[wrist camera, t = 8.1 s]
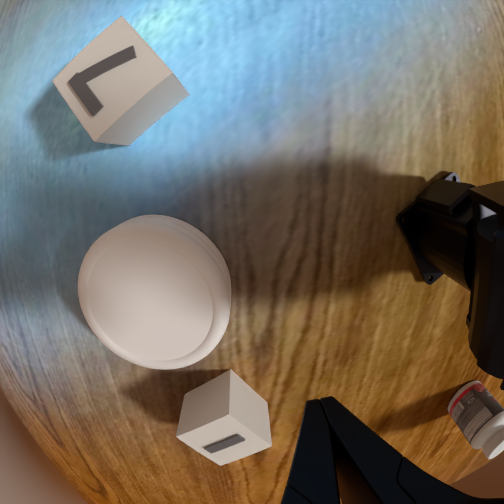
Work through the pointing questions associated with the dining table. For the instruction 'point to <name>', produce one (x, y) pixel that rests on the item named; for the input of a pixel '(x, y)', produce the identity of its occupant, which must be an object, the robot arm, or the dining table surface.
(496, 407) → the pill bottle
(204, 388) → the block one
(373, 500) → the robot arm
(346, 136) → the dining table surface
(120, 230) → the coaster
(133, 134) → the block seven
